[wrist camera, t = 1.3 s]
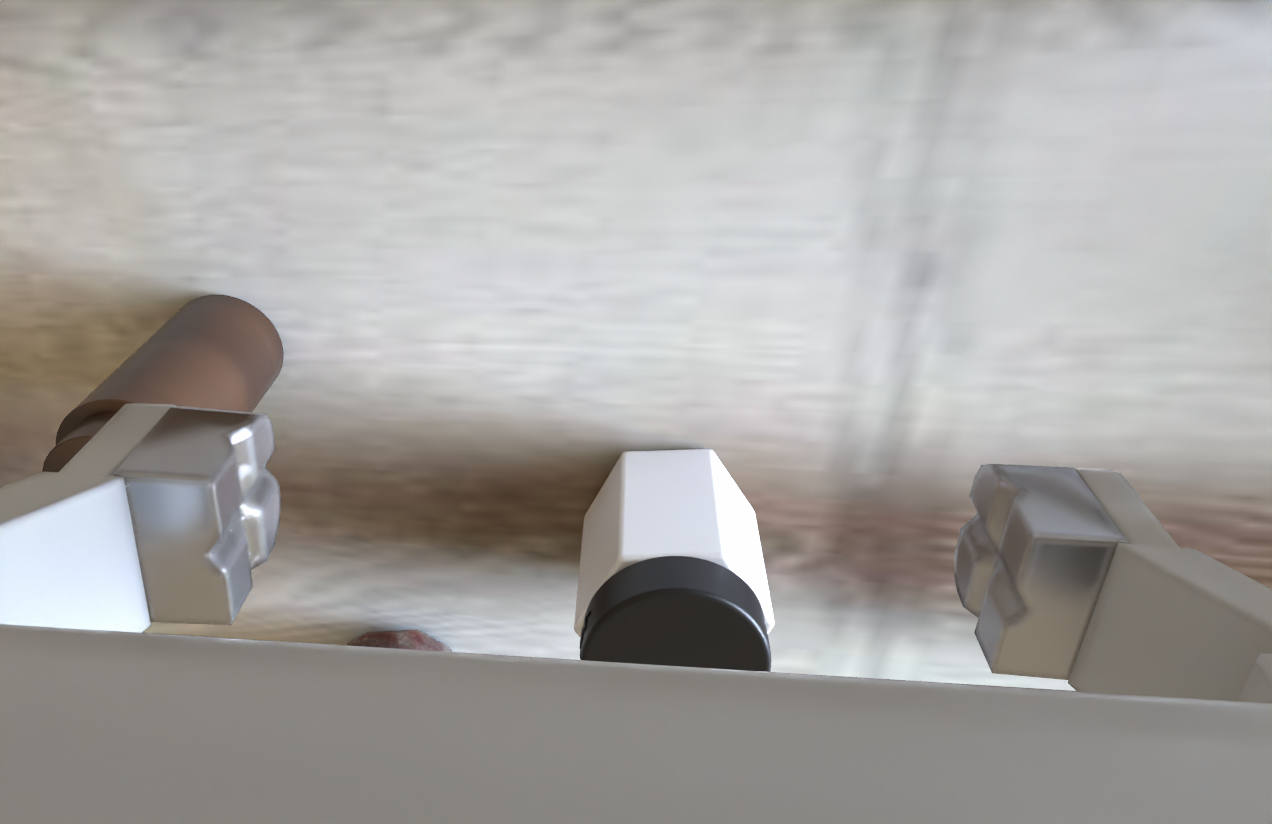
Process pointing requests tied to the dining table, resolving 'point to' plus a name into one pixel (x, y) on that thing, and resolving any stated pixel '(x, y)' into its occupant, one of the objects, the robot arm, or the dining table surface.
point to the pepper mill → (184, 370)
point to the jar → (673, 567)
